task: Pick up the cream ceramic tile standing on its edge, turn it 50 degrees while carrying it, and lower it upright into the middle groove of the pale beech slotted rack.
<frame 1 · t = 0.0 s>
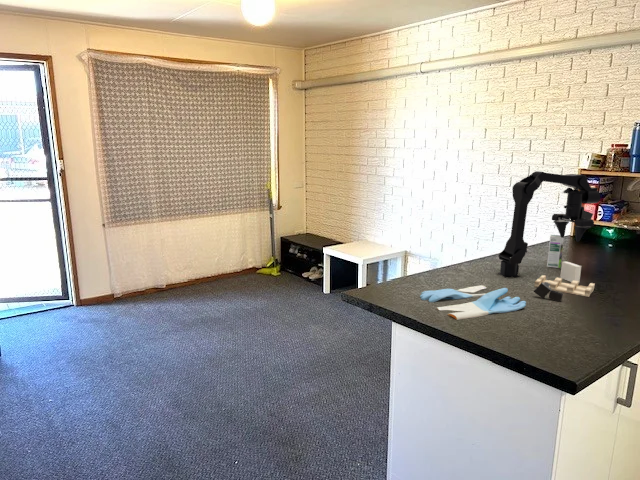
hand: (569, 239, 201), 15 cm above the countertop, tool pointing down, fingers open, 9 cm apart
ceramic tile: (569, 280, 192), on the countertop
syrup box: (553, 266, 214), on the countertop
rubber gloves: (470, 303, 166), on the countertop
black joined square panels: (547, 299, 169), on the countertop
slotted rack: (563, 288, 181), on the countertop
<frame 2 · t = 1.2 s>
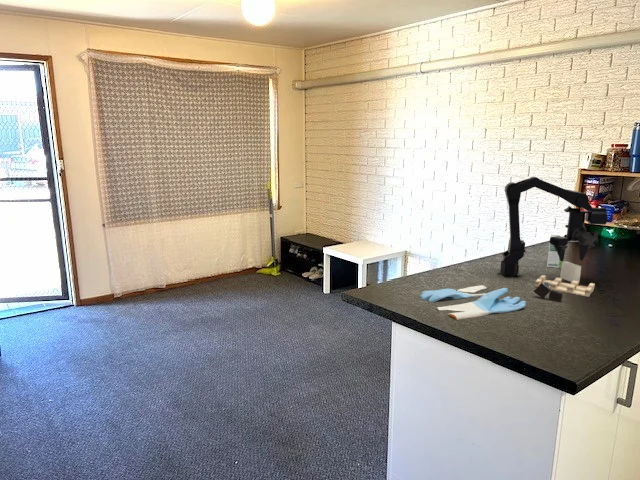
hand: (571, 260, 190), 8 cm above the countertop, tool pointing down, fingers open, 9 cm apart
nothing on the countertop moved.
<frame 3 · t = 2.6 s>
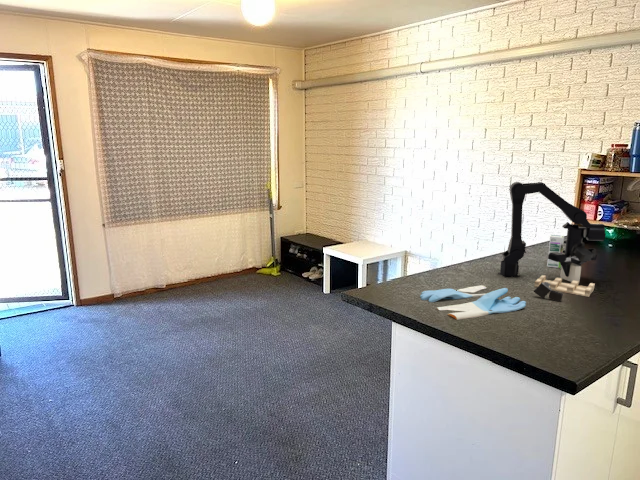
hand: (570, 276, 192), 2 cm above the countertop, tool pointing down, fingers closed on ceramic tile, 2 cm apart
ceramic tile: (569, 280, 192), on the countertop, touching gripper
everything else where it was.
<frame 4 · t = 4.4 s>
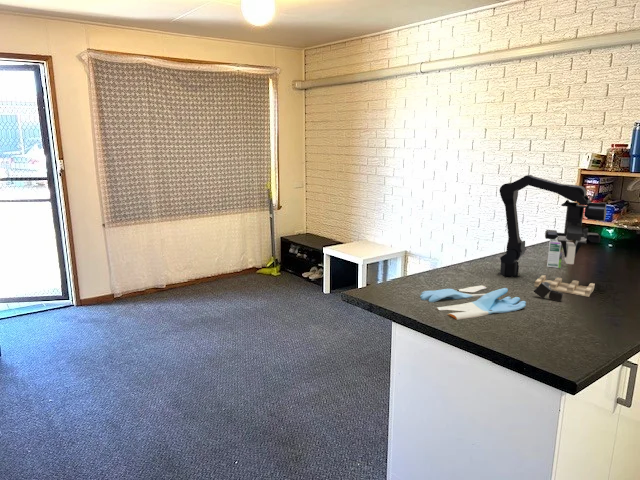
hand: (569, 257, 183), 11 cm above the countertop, tool pointing down, fingers closed on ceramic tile, 2 cm apart
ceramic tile: (568, 261, 183), point 10 cm above the countertop, touching gripper
everything else where it was.
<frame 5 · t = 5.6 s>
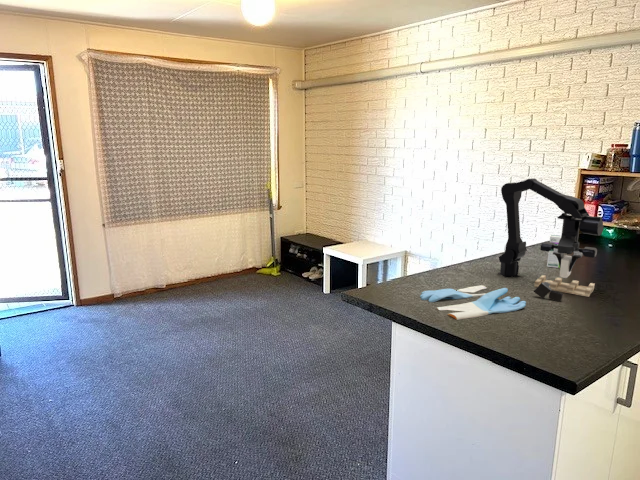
hand: (565, 270, 180), 7 cm above the countertop, tool pointing down, fingers closed on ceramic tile, 2 cm apart
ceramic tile: (565, 275, 180), point 5 cm above the countertop, touching gripper
everything else where it was.
when the fingers open (3 cm above the countertop, at t = 6.4 s): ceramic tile drops 1 cm, resting on slotted rack.
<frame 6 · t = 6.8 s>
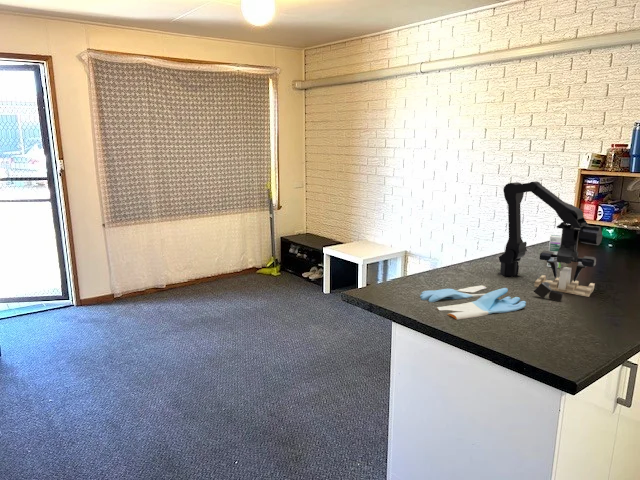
hand: (564, 279, 181), 3 cm above the countertop, tool pointing down, fingers open, 6 cm apart
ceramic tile: (563, 286, 181), resting on slotted rack
everything else where it was.
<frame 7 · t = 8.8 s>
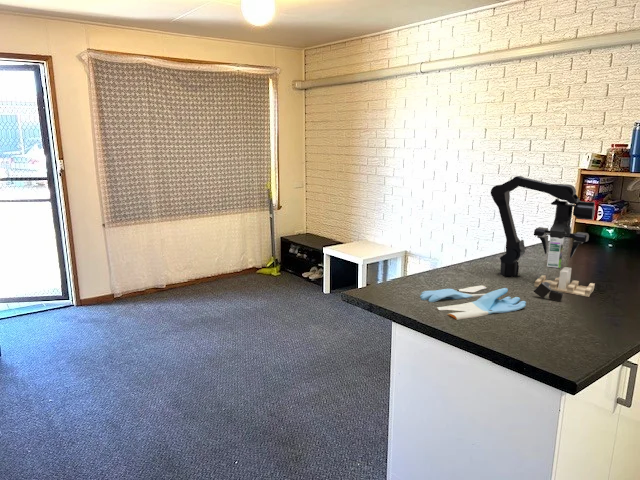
hand: (558, 255, 185), 12 cm above the countertop, tool pointing down, fingers open, 9 cm apart
nothing on the countertop moved.
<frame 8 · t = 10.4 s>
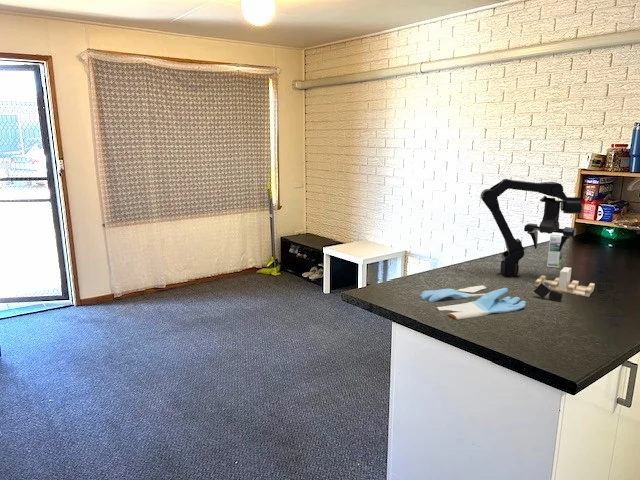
hand: (547, 250, 193), 12 cm above the countertop, tool pointing down, fingers open, 9 cm apart
nothing on the countertop moved.
at the end: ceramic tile 0.1 cm from the slotted rack (horizontally); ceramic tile point 0.5 cm above the countertop; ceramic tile tilted 0° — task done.
